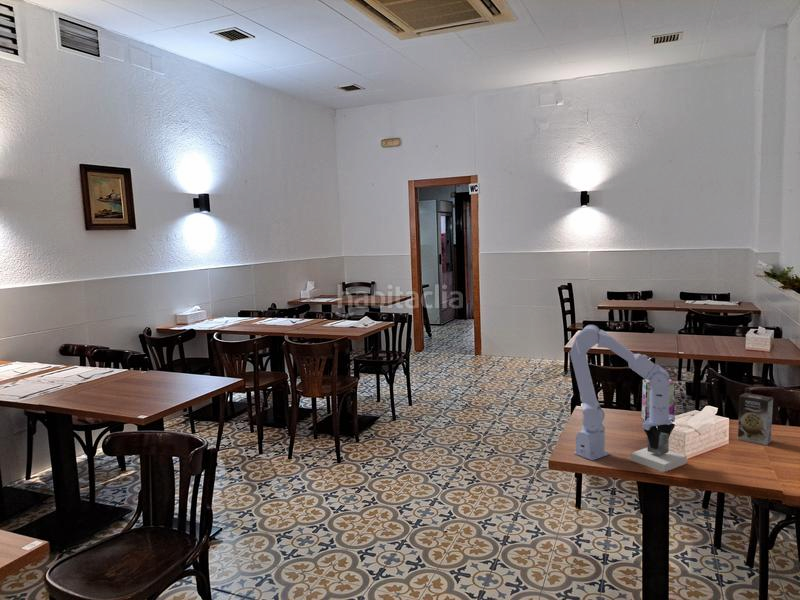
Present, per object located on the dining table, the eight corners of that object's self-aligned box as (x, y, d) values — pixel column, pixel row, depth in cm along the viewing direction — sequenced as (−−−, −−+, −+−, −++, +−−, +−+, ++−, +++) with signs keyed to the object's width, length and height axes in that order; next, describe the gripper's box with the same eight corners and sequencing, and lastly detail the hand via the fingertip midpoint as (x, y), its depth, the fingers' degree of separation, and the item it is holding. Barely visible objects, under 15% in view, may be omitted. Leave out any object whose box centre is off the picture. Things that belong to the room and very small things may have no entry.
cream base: (664, 472, 176) (664, 464, 176) (630, 460, 186) (630, 453, 186) (686, 463, 182) (686, 455, 182) (653, 452, 193) (653, 445, 192)
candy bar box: (645, 422, 223) (645, 382, 221) (641, 418, 228) (641, 379, 226) (674, 422, 222) (675, 382, 220) (670, 418, 227) (670, 378, 225)
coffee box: (737, 439, 202) (738, 395, 200) (743, 435, 206) (744, 392, 204) (766, 445, 195) (767, 400, 193) (772, 441, 199) (773, 396, 198)
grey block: (660, 455, 181) (660, 437, 181) (647, 451, 185) (647, 433, 184) (668, 452, 184) (668, 434, 183) (655, 448, 187) (656, 430, 187)
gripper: (656, 413, 175) (656, 455, 177) (684, 404, 183) (683, 445, 184) (636, 407, 181) (636, 448, 183) (664, 400, 189) (663, 439, 190)
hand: (658, 446), depth 184 cm, fingers closed on grey block, 4 cm apart
